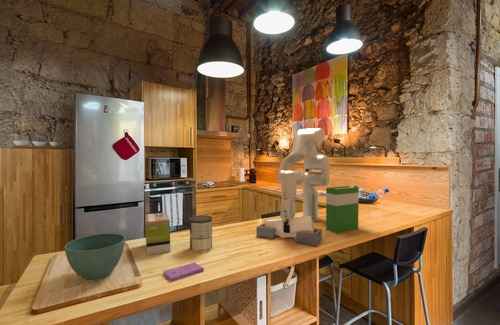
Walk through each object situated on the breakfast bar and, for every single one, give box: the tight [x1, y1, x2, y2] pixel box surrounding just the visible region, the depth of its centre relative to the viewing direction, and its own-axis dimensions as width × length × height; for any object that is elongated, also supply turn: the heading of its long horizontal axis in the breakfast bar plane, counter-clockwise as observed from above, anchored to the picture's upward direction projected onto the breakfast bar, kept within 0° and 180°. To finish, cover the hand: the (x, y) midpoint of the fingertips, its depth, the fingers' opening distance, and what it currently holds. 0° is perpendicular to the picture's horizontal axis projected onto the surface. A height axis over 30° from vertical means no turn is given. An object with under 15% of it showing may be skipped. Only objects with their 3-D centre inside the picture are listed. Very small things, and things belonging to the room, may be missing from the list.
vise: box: [255, 222, 323, 247], centre depth 132 cm, size 12×31×5 cm, turn 62°
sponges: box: [163, 262, 205, 282], centre depth 93 cm, size 7×13×2 cm, turn 130°
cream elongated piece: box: [263, 216, 315, 239], centre depth 131 cm, size 6×25×13 cm, turn 62°
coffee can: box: [189, 214, 213, 254], centre depth 117 cm, size 10×10×14 cm
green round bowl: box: [64, 232, 126, 281], centre depth 91 cm, size 18×18×12 cm
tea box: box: [144, 212, 171, 256], centre depth 117 cm, size 15×10×15 cm, turn 23°
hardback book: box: [325, 185, 360, 235], centre depth 146 cm, size 18×7×24 cm, turn 119°
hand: (288, 230), depth 132 cm, fingers closed on cream elongated piece, 5 cm apart
